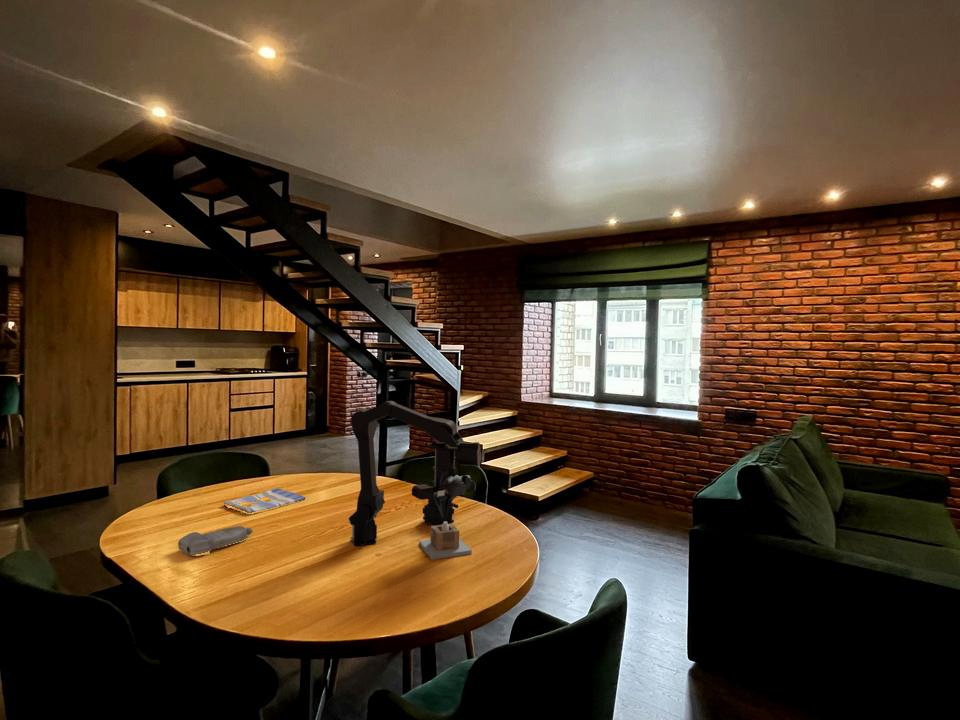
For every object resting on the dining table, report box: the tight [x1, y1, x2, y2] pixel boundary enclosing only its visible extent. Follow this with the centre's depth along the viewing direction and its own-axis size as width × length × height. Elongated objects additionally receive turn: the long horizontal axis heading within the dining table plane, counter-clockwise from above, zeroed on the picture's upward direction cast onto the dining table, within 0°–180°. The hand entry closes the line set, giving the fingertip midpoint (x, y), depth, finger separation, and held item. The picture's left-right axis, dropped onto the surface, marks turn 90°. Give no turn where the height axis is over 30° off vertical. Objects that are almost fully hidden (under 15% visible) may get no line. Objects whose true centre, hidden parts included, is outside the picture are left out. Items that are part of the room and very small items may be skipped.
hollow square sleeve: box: [430, 523, 460, 551], centre depth 149 cm, size 6×6×5 cm
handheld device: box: [177, 525, 254, 556], centre depth 149 cm, size 10×20×5 cm, turn 143°
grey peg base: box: [418, 522, 473, 561], centre depth 149 cm, size 12×12×8 cm
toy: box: [422, 497, 459, 526], centre depth 169 cm, size 8×14×10 cm, turn 44°
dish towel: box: [223, 487, 306, 513], centre depth 188 cm, size 17×24×3 cm
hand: (443, 517), depth 149 cm, fingers closed
